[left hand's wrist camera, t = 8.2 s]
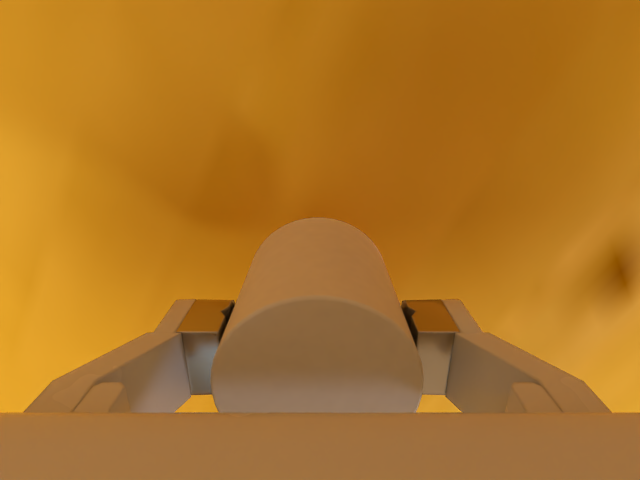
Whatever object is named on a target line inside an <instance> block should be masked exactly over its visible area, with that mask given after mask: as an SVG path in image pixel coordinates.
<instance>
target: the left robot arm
mask: <svg viewBox="0 0 640 480" xmlns="http://www.w3.org/2000/svg"><path fill="white" fill-rule="evenodd" d="M234 306H235V302H234V300H200V299H198V300H196V299H179V300H176V301H175V302H174V304H173V305H172V307H171V308H170V310H169V311H168V312H167V314H166V315H165V317H164V318H163V319H162V321H161V322H160V324H159V325H158V327H157V328H156V329H155V331H154V332H153V333H146V334H144V335H142V336H140V337H138V338H136V339H134V340H132V341H130V342H128V343H126V344H124V345H122V346H120V347H118V348H116V349H114V350H112V351H110V352H108V353H106V354H104V355H102V356H100V357H99V358H97V359H95V360H93V361H91V362H89V363H87V364H85V365H83V366H81V367H79V368H77V369H75V370H73V371H71V372H69V373H67V374H65V375H63V376H61V377H59V378H57V379H55V380H53V381H52V382H51V383H50V384H49V385H48V386H47V387H46V388H45V389H44V391H43V392H42V393H41V394H40V395H39V396H38V397H37V398H36V399H35V400H34V401H33V402H32V403H31V404H30V406H29V407H28V408H27V409H26V410H25V411H24V412H23V413H0V480H640V413H612V412H611V411H610V410H609V409H608V408H607V407H606V405H605V404H604V403H603V402H602V401H601V400H600V399H599V398H598V397H597V396H596V394H595V393H594V392H593V391H592V390H591V389H590V388H589V387H588V386H587V385H586V383H585V382H584V381H582V380H580V379H578V378H576V377H574V376H572V375H570V374H568V373H566V372H564V371H562V370H560V369H559V368H557V367H555V366H553V365H551V364H549V363H547V362H545V361H543V360H541V359H539V358H537V357H535V356H533V355H531V354H529V353H527V352H525V351H524V350H522V349H520V348H518V347H516V346H514V345H512V344H510V343H508V342H506V341H504V340H502V339H500V338H498V337H496V336H494V335H492V334H491V333H483V332H482V330H481V329H480V328H479V326H478V325H477V323H476V322H475V320H474V319H473V317H472V316H471V315H470V313H469V312H468V310H467V309H466V307H465V306H464V305H463V303H462V302H461V300H459V299H446V300H404V301H402V305H401V308H402V311H403V314H404V316H405V319H406V322H407V324H408V327H409V330H410V332H411V335H412V337H413V340H414V343H415V345H416V348H417V351H418V353H419V356H420V359H421V362H422V367H423V378H424V384H423V391H422V394H428V395H446V396H445V397H447V398H448V399H449V400H450V401H451V402H452V403H453V404H454V405H455V406H456V407H457V408H458V409H459V410H461V411H462V412H463V413H174V412H175V411H176V410H177V409H178V408H179V407H180V406H181V405H183V404H184V403H185V402H186V401H187V400H188V399H189V398H190V397H191V395H208V394H212V389H211V368H212V363H213V359H214V356H215V354H216V351H217V349H218V346H219V344H220V341H221V339H222V336H223V334H224V331H225V329H226V326H227V324H228V321H229V319H230V316H231V314H232V311H233V309H234Z"/></svg>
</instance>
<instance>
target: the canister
mask: <svg viewBox="0 0 640 480" xmlns="http://www.w3.org/2000/svg"><path fill="white" fill-rule="evenodd" d="M423 384H424V378H423V367H422V362H421V359H420V356H419V353H418V351H417V348H416V345H415V343H414V340H413V337H412V335H411V332H410V330H409V327H408V324H407V322H406V319H405V316H404V314H403V311H402V308H401V306H400V303H399V300H398V298H397V295H396V293H395V290H394V287H393V285H392V282H391V279H390V277H389V274H388V271H387V269H386V266H385V263H384V261H383V258H382V256H381V254H380V252H379V250H378V248H377V247H376V245H375V244H374V243H373V241H372V240H371V239H370V238H369V237H368V236H367V235H366V234H364V233H363V232H362V231H360V230H359V229H357V228H356V227H354V226H352V225H350V224H348V223H345V222H343V221H339V220H336V219H331V218H320V217H313V218H305V219H301V220H296V221H294V222H291V223H288V224H286V225H284V226H282V227H280V228H279V229H277V230H276V231H275V232H273V233H272V234H271V235H270V236H269V237H267V238H266V239H265V241H264V242H263V243H262V244H261V246H260V247H259V249H258V250H257V252H256V254H255V256H254V259H253V261H252V264H251V266H250V269H249V271H248V274H247V276H246V279H245V281H244V284H243V286H242V289H241V291H240V294H239V296H238V299H237V301H236V304H235V306H234V309H233V311H232V314H231V316H230V319H229V321H228V324H227V326H226V329H225V331H224V334H223V336H222V339H221V341H220V344H219V346H218V349H217V351H216V354H215V356H214V359H213V363H212V368H211V389H212V395H213V398H214V402H215V405H216V407H217V410H218V412H219V413H415V412H416V410H417V408H418V406H419V403H420V400H421V396H422V391H423Z"/></svg>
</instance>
